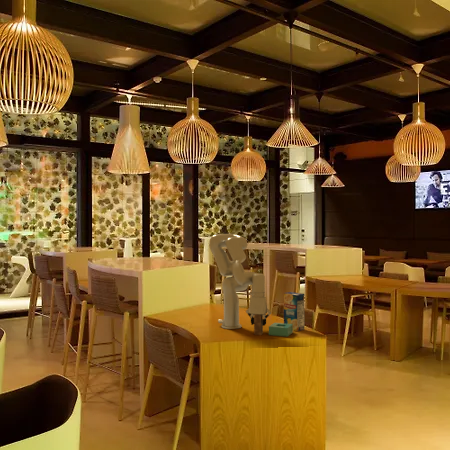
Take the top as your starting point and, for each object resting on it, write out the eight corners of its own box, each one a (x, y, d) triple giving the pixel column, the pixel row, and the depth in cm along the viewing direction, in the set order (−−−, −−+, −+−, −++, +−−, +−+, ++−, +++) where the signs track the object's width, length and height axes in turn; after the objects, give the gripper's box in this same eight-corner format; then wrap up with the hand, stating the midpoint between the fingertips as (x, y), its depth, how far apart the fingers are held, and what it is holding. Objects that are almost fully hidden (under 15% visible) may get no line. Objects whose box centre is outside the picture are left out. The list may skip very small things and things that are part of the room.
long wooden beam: (254, 334, 306) (254, 311, 306) (256, 333, 310) (256, 309, 310) (260, 335, 305) (260, 311, 304) (262, 333, 308) (262, 310, 308)
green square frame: (268, 334, 305) (268, 326, 305) (274, 330, 316) (274, 322, 316) (287, 336, 301) (287, 328, 301) (292, 332, 311) (292, 324, 311)
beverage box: (297, 331, 314) (297, 295, 314) (283, 328, 322) (283, 293, 322) (304, 329, 319) (304, 293, 318) (291, 326, 327) (290, 291, 326)
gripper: (242, 294, 307) (242, 325, 307) (270, 296, 300) (270, 327, 300) (246, 293, 314) (246, 322, 314) (274, 294, 307) (274, 324, 307)
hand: (258, 324), depth 307 cm, fingers open, 6 cm apart
